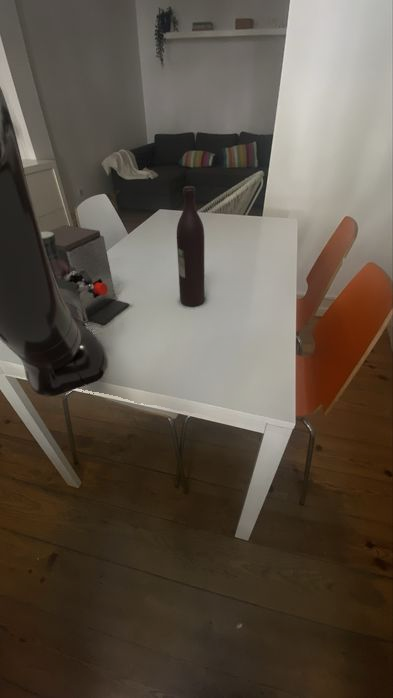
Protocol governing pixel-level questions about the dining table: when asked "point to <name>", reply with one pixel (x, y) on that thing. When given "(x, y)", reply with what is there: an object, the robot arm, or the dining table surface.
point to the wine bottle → (190, 252)
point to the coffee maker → (89, 270)
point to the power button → (100, 289)
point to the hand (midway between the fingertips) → (54, 273)
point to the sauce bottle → (54, 256)
